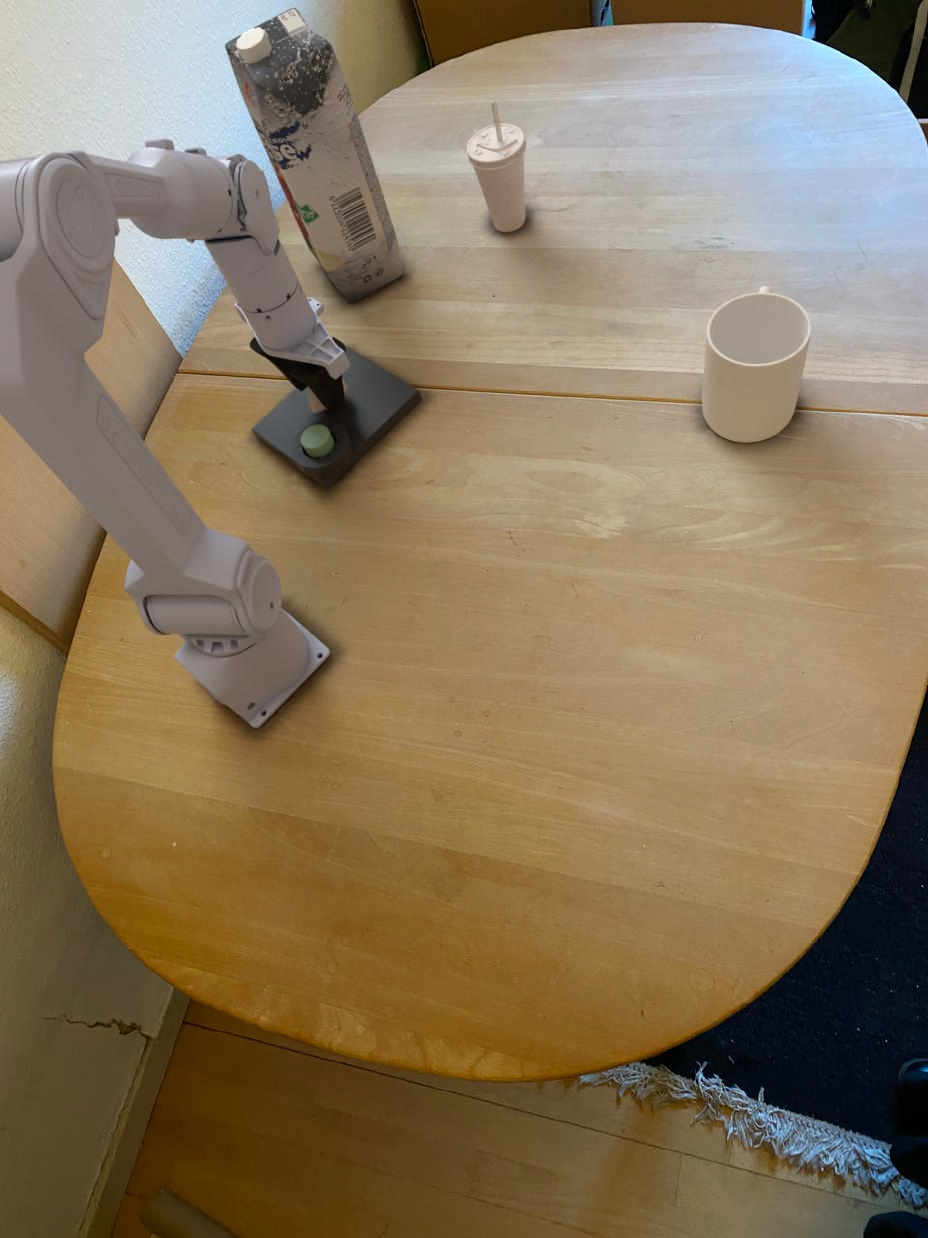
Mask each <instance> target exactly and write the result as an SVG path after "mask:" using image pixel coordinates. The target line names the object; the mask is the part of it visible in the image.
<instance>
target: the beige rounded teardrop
mask: <svg viewBox="0 0 928 1238" xmlns="http://www.w3.org/2000/svg"><path fill="white" fill-rule="evenodd" d="M342 379H343V378H342ZM343 387H344V395H345V396H346V394H347V391H348V389H347V385H346V384H345V381H344V379H343ZM307 396H308V402H309V405H310V408H311V410H312V412H313V413H319V412H321V411H324V410H326V409H327V408H326V407H324V406H323V405H322V404H321V402H320V401H319V400H318V398H317V397H316V396H315V394H314V393H313V392H312V390H311V389H310V388H309V387H308V388H307Z"/></svg>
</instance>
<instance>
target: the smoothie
mask: <svg viewBox="0 0 928 1238" xmlns="http://www.w3.org/2000/svg"><path fill="white" fill-rule="evenodd" d="M490 107H491V112H492V118H493V124H490V125H488V126H485V127H483V128H481V129H479V130H477V132H475V133H473V135H472V136H471V137H470V138H469V140H468V141H467V144H466V154H467V161H468V163H469V164H470V165H471V166H472V167H473V170H474V172H475V176H476V178H477V181H478V183H479V187H480V189H481V192H482V195H483V198H484V201H485V204H486V206H487V209H488V212H489V215H490V218H491V221H492V223H493V226H494V228H495V229H496V230H497V231H498V232H500V233H501V232H502V233H511V232H514V231H516V230H519V229H520V228H521V227H522V226H523V225H524V224H525V222H526V188H525V187H526V186H525V185H526V184H525V152H526V149H527V141H526V135H525V133H524V131H523V130H522V129H521V128H520V127H519V126H517V125H515V124H511V123H501V122H500V117H499V109H498V104H497V99H491V100H490Z"/></svg>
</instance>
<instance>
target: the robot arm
mask: <svg viewBox="0 0 928 1238" xmlns="http://www.w3.org/2000/svg"><path fill="white" fill-rule="evenodd" d="M144 146H145V147H143V148H140V149H138V150H136V151H135V152H133V153H132V154H131V155H129V157H128V158H127V159H126V161H123V160H119V159H114V158H110V157H106V156H105V157H104V156H100V155H95V154H91V153H87V152H85V150H82V149H76V150H75V149H74V150H73V149H70V150H64V151H50V152H46V153H40V154H37V155H29V156H28V155H27V156H22V157H15V158H8V159H2V160H0V415H1V416H2V417H3V419H4V420H5V421H6V422H7V423H8V424H9V425H10V426H11V427H12V428H13V429H14V431H15V432H16V433H17V434H18V435H19V436H20V437H21V438H22V440H23V441H24V442H25V443H26V444H27V445H28V446H29V447H30V449H32V450H33V452H34V453H35V454H36V455H37V456H38V457H39V458H40V460H42V462H43V463H44V464H45V465H46V466H47V467H48V469H50V470H51V472H52V473H53V474H54V475H55V476H56V477H57V478H58V480H59V481H61V483H62V485H64V486H65V487H66V488H67V489H68V490H69V492H70V493H71V494H72V495H73V496H74V497H75V498H76V499H77V501H78V502H79V503H80V504H81V505H82V506H83V507H84V508H85V510H87V512H88V513H89V514H90V515H91V516H92V517H93V518H94V519H95V521H97V523H98V524H99V525H100V526H101V527H102V529H103V530H105V531H106V533H107V534H108V535H109V536H110V537H111V538H112V539H113V541H115V543H116V544H117V545H118V546H119V547H120V548H121V549H122V550H123V552H124V553H125V554H126V555H127V556H128V557H129V558H130V561H129V564H128V567H127V569H126V574H125V581H124V587H123V588H124V589H123V590H124V591H125V592H126V593H127V594H128V595H129V596H130V597H131V599H132V600H133V601H134V604H135V605H136V607H137V611H138V614H139V616H140V618H141V620H142V623H143V624H144V626H145V628H147V629H148V631H150V632H151V633H152V634H154V635H157V636H171V635H178V636H179V637H180V638H182V640H183V642H182V644H181V646H180V647H179V649H178V650H176V652H175V654H174V655H173V657H174V659H175V660H176V661H177V663H179V665H181V666H182V668H183V669H185V670H186V671H187V673H189V674H190V675H191V676H192V677H193V678H194V679H195V680H196V681H197V682H198V683H199V684H200V685H201V686H203V688H205V689H206V690H207V691H208V692H209V694H210V695H211V696H212V697H213V698H214V699H215V700H217V701H218V702H219V703H220V704H221V705H222V706H226V707H228V708H229V709H230V710H232V711H233V712H234V713H235V714H236V715H238V716H239V717H241V718H242V719H243V720H244V721H246V722H247V723H248V724H249V726H251V727H252V728H254V729H259V728H261V727H262V726H263V725H264V723H266V722H267V720H268V719H270V717H271V716H273V715H274V714H275V712H276V711H277V710H278V709H280V708H281V706H282V705H283V704H284V703H285V702H286V701H287V700H289V698H291V696H292V695H293V694H294V693H295V692H296V691H297V690H298V689H299V688H300V686H302V685H303V684H304V683H305V681H307V679H308V678H310V676H312V675H313V673H315V672H316V670H317V669H318V668H319V667H320V666H321V665H322V664H323V663H324V662H325V661H326V660H327V659H328V658H329V657H330V656H331V650H330V649H329V648H328V647H327V646H326V645H325V643H323V642H322V641H321V640H319V639H318V638H317V637H316V636H315V635H314V634H313V633H311V632H310V631H309V630H308V629H307V628H306V627H305V626H304V625H302V624H301V623H300V622H299V621H297V620H296V619H295V618H294V617H293V616H292V615H291V614H290V613H288V612H287V611H286V610H285V609H284V608H282V605H283V603H282V602H283V590H282V583H281V579H280V576H279V574H278V571H277V569H276V568H275V566H274V565H273V563H272V562H271V561H270V560H269V559H268V558H267V557H266V556H263V555H260V554H258V553H256V552H255V551H254V550H253V548H252V547H251V545H250V544H249V542H247V541H245V540H243V539H240V538H238V537H235V536H233V535H231V534H228V533H225V532H223V531H219V530H217V529H214V528H212V527H210V526H208V525H206V524H205V523H204V521H203V520H202V519H201V517H200V516H199V515H198V513H197V512H196V510H195V509H194V508H193V506H192V505H191V504H190V502H189V501H188V499H187V498H186V497H185V496H184V494H183V493H182V491H181V490H180V488H179V487H178V485H177V484H176V483H175V482H174V481H173V479H172V478H171V476H170V475H169V474H168V472H167V471H166V469H165V468H164V466H163V465H162V464H161V463H160V461H159V460H158V459H157V457H156V456H155V454H154V453H153V452H152V451H151V449H150V448H149V446H148V445H147V443H146V442H145V441H144V440H143V438H142V436H141V435H140V434H139V433H138V432H137V430H136V428H135V427H134V425H132V423H131V422H130V421H129V419H128V418H127V417H126V415H125V414H124V412H123V411H122V410H121V408H120V407H119V405H118V404H117V402H116V401H115V400H114V399H113V397H112V395H111V394H110V393H109V392H108V391H107V389H106V387H104V385H103V384H102V382H101V381H100V379H99V378H98V376H96V374H95V373H94V371H93V370H92V369H91V367H90V366H89V364H88V363H87V361H86V360H85V354H86V352H88V350H90V349H91V348H92V347H93V346H94V345H95V344H97V343H98V341H100V340H101V339H102V338H103V334H104V327H105V320H106V314H107V308H108V307H107V306H108V300H109V294H110V287H111V279H112V273H113V266H114V258H115V250H116V237H118V235H119V234H120V232H121V229H120V225H119V221H118V220H129V221H130V222H131V223H132V224H133V225H134V226H135V227H136V228H137V229H138V230H140V232H142V233H144V234H145V235H146V236H149V237H151V238H154V239H159V240H186V241H187V242H188V243H190V244H194V243H195V242H196V241H201V242H203V244H204V246H205V247H206V249H207V251H208V252H209V254H210V256H211V258H212V260H213V261H214V263H215V264H216V267H217V268H218V270H219V272H220V274H221V276H222V277H223V279H224V281H225V282H226V284H227V286H228V288H229V290H230V291H231V293H232V295H233V297H234V298H235V300H236V302H235V303H234V304H233V307H234V308H235V310H236V311H237V314H238V315H239V318H240V319H241V320H242V321H243V322H244V323H247V325H248V327H249V329H250V330H251V333H252V334H253V338H252V339H251V340H250V341H249V348H250V349H251V350H252V351H253V352H255V353H256V354H258V355H259V356H261V357H263V358H265V359H266V360H268V361H269V362H270V363H271V364H272V365H273V366H274V367H276V368H277V370H278V371H279V372H280V373H281V374H282V375H283V376H284V378H286V380H288V382H289V383H290V384H291V385H292V386H293V387H294V388H297V389H298V390H300V391H301V392H302V391H303V390H304V389H305V388H306V387H309V388H310V389H311V390H312V392H313V393H314V394H315V396H316V397H317V398H318V400H319V401H320V402H321V404H322V405H323V406H324V407H326V408H327V409H328V410H330V411H333V410H334V409H335V408H336V407H337V406H338V405H340V404H341V403H342V402H343V401H344V400H345V395H344V387H343V379H342V374H343V373H344V372H345V371H346V370H347V369H348V368H349V367H350V366H351V365H350V362H349V360H348V358H347V356H346V348H345V346H346V345H345V344H344V342H342V341H341V340H340V339H338V338H336V337H335V336H331V334H330V333H329V331H328V329H327V328H326V327H325V324H324V323H323V322H322V320H321V318H320V315H321V314H323V312H324V311H325V307H324V305H323V302H321V301H320V300H318V299H316V298H314V297H307V296H306V293H305V290H304V288H303V287H302V285H301V283H300V281H299V278H298V276H297V274H296V272H295V269H294V267H293V266H292V263H291V261H290V259H289V257H288V255H287V253H286V250H285V248H284V247H283V244H282V242H281V240H280V238H279V236H280V233H281V229H280V226H279V220H278V218H277V216H276V213H275V211H274V208H273V205H272V199H271V193H270V187H269V183H268V180H267V178H266V175H265V172H264V170H263V168H260V166H259V165H258V164H257V163H256V162H254V161H253V160H250V159H247V157H245V156H244V155H243V154H240V153H237V154H229V155H221V156H210V155H208V154H207V151H206V149H205V148H203V147H198V146H197V147H190V148H189V147H188V148H185V150H183V151H180V150H175V145H174V141H173V140H172V139H169V138H168V139H167V138H157V139H156V138H155V139H150V140H149V139H148V140H145V142H144ZM344 345H345V346H344ZM320 656H322V657H320ZM264 713H265V714H264Z"/></svg>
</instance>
